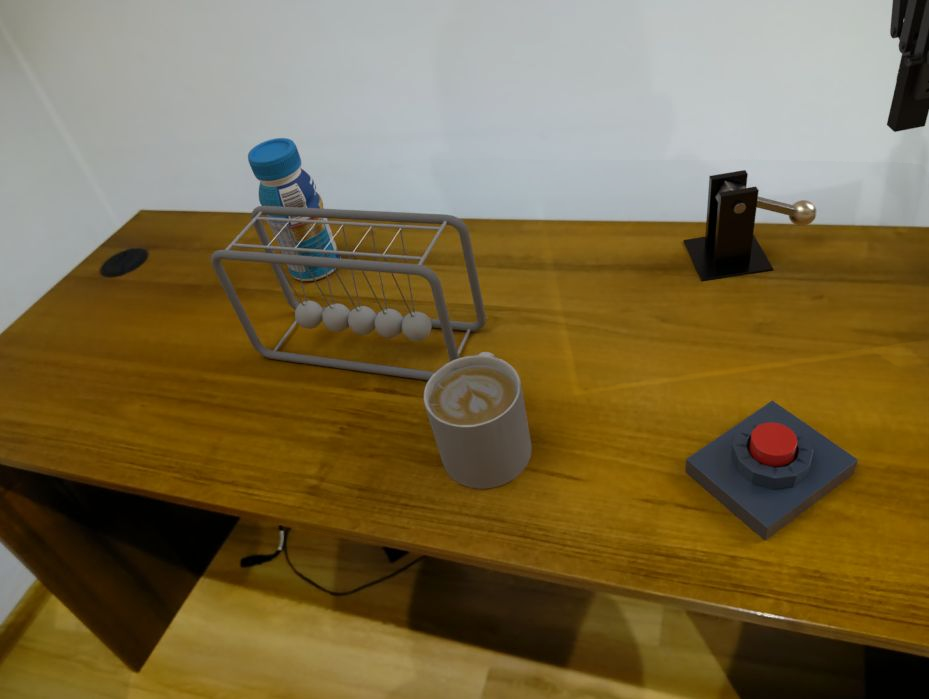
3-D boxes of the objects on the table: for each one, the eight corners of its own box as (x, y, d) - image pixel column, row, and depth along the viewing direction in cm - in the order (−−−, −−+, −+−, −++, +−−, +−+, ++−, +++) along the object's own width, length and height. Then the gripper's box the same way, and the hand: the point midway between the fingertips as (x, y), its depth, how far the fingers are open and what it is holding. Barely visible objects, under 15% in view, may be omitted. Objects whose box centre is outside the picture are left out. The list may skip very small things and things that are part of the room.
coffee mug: (515, 497, 74) (503, 434, 67) (428, 479, 77) (407, 418, 71) (550, 402, 82) (542, 338, 76) (470, 389, 86) (455, 328, 79)
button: (769, 427, 70) (772, 415, 69) (804, 452, 68) (807, 440, 66) (740, 448, 69) (741, 436, 68) (774, 474, 66) (776, 462, 65)
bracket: (749, 236, 98) (759, 158, 90) (772, 276, 91) (784, 196, 83) (683, 246, 99) (686, 170, 91) (700, 286, 92) (706, 208, 84)
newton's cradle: (257, 358, 97) (202, 252, 85) (294, 308, 104) (248, 203, 92) (463, 387, 86) (434, 270, 74) (489, 329, 93) (466, 213, 81)
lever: (801, 219, 93) (815, 198, 91) (810, 233, 91) (826, 212, 89) (712, 197, 90) (724, 175, 88) (719, 211, 88) (732, 188, 86)
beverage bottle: (280, 283, 109) (229, 166, 96) (302, 250, 115) (256, 135, 101) (331, 284, 107) (285, 164, 93) (350, 250, 112) (310, 132, 99)
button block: (769, 413, 76) (774, 388, 73) (854, 473, 69) (862, 447, 66) (684, 472, 72) (686, 447, 70) (764, 541, 66) (769, 516, 63)
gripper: (882, -183, 56) (834, 103, 72) (978, -156, 46) (898, 167, 62) (982, -206, 55) (911, 88, 71) (1101, -184, 46) (989, 150, 62)
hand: (905, 125), depth 67 cm, fingers closed
